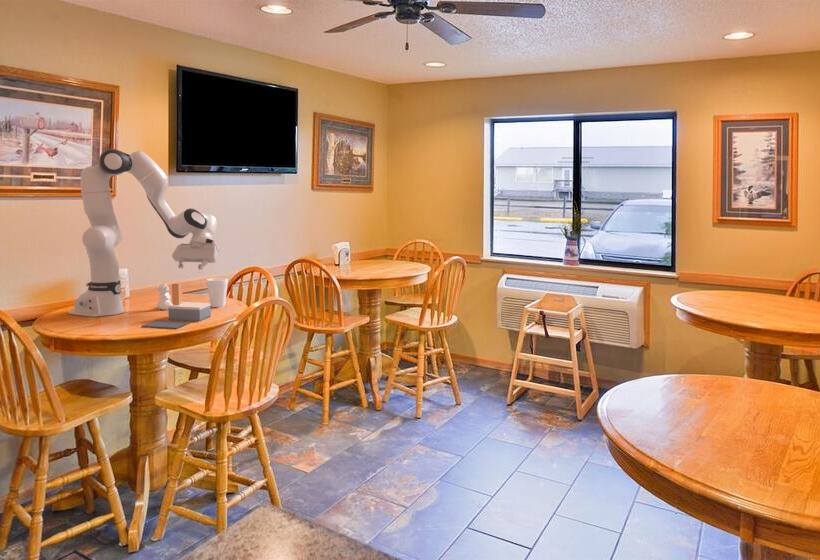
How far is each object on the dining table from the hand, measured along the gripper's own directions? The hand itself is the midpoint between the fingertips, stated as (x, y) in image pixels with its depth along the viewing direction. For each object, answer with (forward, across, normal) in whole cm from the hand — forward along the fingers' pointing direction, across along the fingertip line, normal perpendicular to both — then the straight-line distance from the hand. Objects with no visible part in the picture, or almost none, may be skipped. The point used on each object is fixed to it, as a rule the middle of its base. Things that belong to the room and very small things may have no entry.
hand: (190, 268), depth 266 cm
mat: (+32, +2, -4) cm, 33 cm away
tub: (+23, +6, +6) cm, 24 cm away
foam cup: (+4, +6, +25) cm, 26 cm away
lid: (+19, +6, +2) cm, 20 cm away
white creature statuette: (+11, -14, +17) cm, 25 cm away
